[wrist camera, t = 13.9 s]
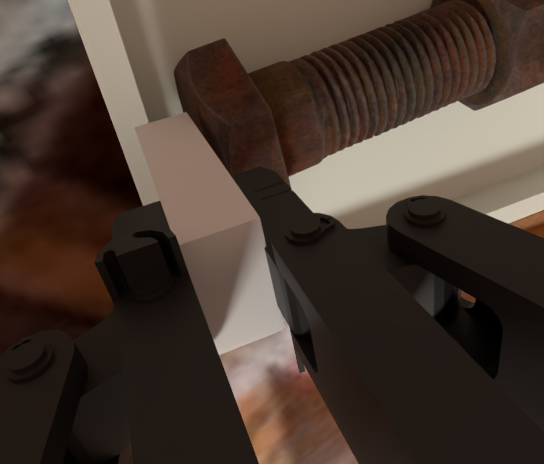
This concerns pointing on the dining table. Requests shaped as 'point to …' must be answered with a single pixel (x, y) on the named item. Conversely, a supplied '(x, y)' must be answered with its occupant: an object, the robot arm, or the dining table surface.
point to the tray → (344, 164)
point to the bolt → (360, 83)
